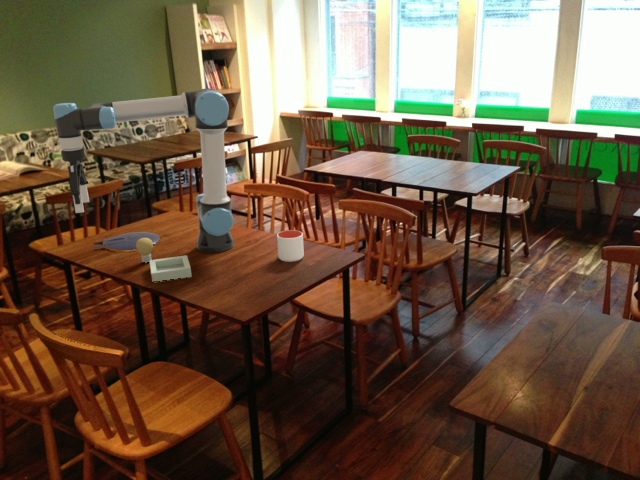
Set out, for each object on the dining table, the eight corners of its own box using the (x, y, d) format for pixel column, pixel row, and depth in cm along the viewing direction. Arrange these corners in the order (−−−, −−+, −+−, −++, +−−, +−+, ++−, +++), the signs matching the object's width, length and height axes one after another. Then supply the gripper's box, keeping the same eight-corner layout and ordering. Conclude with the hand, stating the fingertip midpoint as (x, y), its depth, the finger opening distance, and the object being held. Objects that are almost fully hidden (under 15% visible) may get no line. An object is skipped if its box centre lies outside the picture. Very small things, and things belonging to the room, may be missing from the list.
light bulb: (146, 266, 227) (143, 241, 223) (135, 263, 230) (131, 239, 227) (158, 260, 232) (155, 237, 228) (147, 258, 235) (144, 234, 232)
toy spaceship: (90, 257, 239) (89, 249, 238) (97, 238, 261) (95, 231, 260) (160, 249, 245) (159, 242, 244) (161, 231, 267) (160, 225, 266)
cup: (308, 255, 232) (307, 231, 229) (296, 264, 223) (295, 239, 220) (285, 252, 236) (284, 228, 233) (273, 261, 228) (272, 236, 224)
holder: (187, 263, 228) (186, 255, 227) (191, 276, 215) (190, 268, 214) (150, 268, 224) (149, 260, 223) (152, 282, 211) (151, 273, 210)
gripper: (66, 143, 215) (77, 199, 222) (53, 156, 192) (65, 218, 199) (88, 141, 216) (97, 197, 224) (78, 154, 193) (89, 215, 201)
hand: (82, 207), depth 211 cm, fingers open, 13 cm apart
